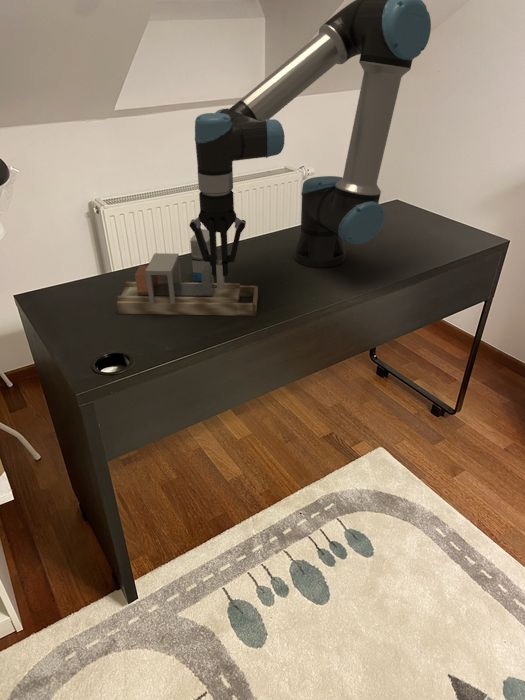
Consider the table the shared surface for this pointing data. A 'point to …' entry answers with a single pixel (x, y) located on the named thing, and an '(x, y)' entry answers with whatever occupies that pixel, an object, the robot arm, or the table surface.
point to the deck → (192, 302)
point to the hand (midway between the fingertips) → (220, 287)
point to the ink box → (199, 256)
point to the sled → (176, 285)
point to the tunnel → (163, 272)
